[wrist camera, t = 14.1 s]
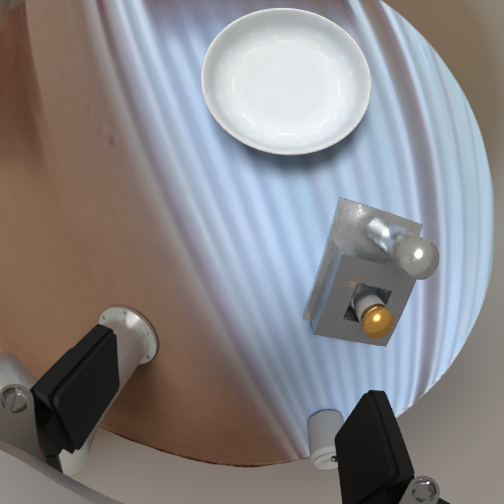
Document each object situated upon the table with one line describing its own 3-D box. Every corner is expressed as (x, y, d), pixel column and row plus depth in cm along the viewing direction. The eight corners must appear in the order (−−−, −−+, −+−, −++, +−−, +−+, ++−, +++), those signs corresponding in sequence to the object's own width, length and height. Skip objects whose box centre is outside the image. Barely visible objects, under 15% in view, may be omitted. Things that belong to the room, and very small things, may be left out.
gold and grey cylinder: (374, 281, 40) (398, 311, 30) (367, 304, 41) (388, 339, 31) (350, 278, 40) (369, 309, 30) (344, 302, 41) (360, 338, 32)
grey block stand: (378, 330, 43) (409, 387, 29) (302, 315, 43) (311, 377, 29) (419, 223, 38) (476, 250, 23) (339, 196, 38) (374, 212, 24)
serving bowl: (377, 69, 32) (394, 54, 25) (317, 184, 38) (326, 187, 31) (253, 11, 31) (249, -12, 24) (187, 120, 37) (170, 111, 30)
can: (345, 422, 50) (353, 464, 39) (312, 431, 52) (315, 474, 40) (338, 403, 49) (347, 448, 37) (303, 413, 50) (305, 459, 38)
